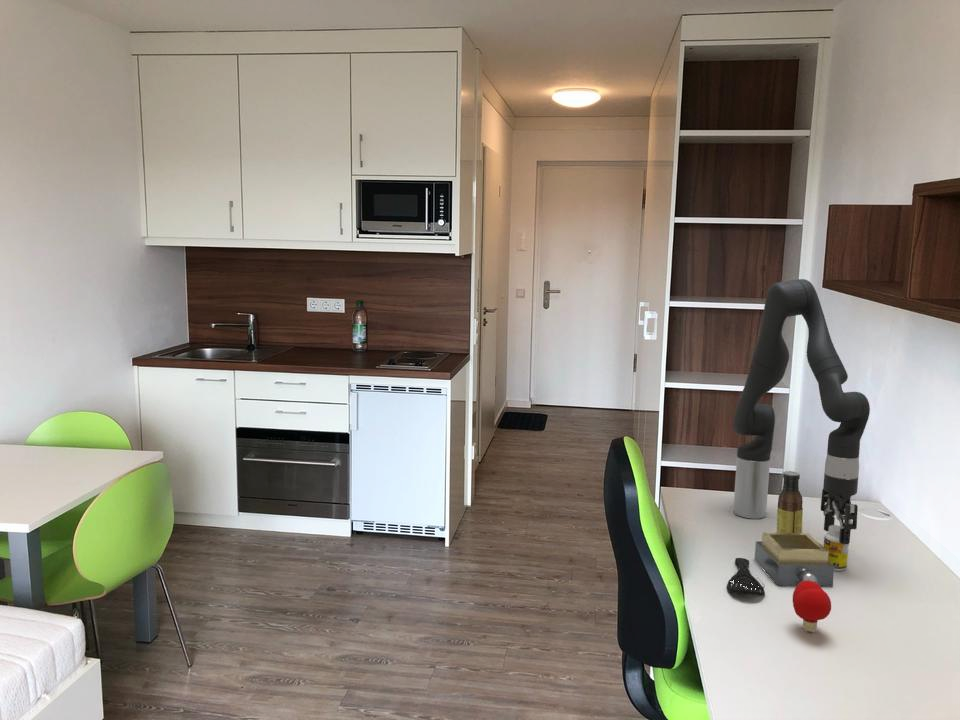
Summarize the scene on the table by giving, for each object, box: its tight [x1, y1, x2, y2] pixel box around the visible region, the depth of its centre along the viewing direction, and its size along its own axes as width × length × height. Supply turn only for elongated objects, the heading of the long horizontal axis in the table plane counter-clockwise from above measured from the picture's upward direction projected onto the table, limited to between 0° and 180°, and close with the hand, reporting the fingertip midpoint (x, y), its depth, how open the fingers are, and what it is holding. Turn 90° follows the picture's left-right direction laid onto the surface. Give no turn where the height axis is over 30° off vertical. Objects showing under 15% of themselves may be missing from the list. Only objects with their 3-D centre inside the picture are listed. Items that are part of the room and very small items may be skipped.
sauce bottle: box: [776, 470, 804, 533], centre depth 202 cm, size 6×6×20 cm
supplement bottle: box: [823, 524, 850, 572], centre depth 188 cm, size 6×6×10 cm
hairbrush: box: [726, 557, 766, 597], centre depth 181 cm, size 8×4×25 cm
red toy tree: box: [792, 581, 832, 634], centre depth 156 cm, size 9×7×10 cm
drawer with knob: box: [754, 532, 835, 588], centre depth 183 cm, size 18×13×8 cm
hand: (836, 537), depth 188 cm, fingers open, 8 cm apart
